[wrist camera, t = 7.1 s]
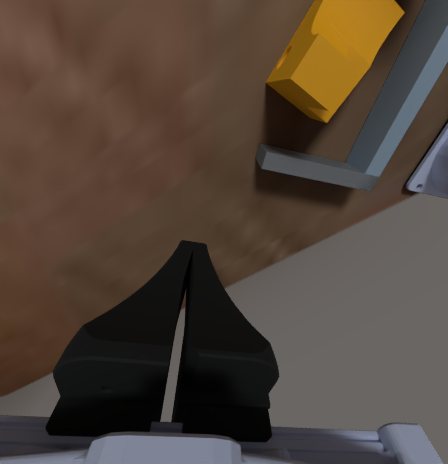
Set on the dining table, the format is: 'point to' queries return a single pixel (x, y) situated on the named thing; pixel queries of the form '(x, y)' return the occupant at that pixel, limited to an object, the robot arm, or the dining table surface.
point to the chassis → (379, 110)
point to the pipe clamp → (332, 53)
